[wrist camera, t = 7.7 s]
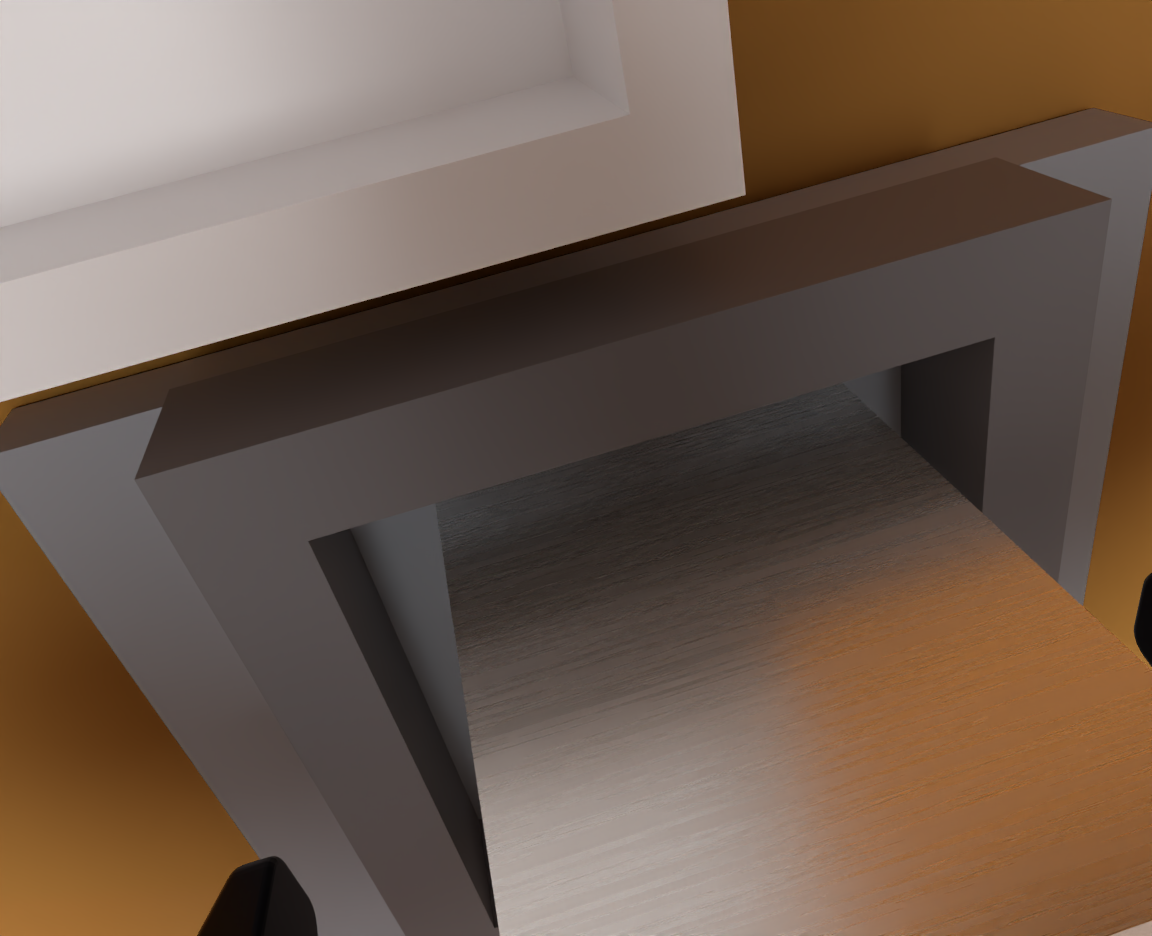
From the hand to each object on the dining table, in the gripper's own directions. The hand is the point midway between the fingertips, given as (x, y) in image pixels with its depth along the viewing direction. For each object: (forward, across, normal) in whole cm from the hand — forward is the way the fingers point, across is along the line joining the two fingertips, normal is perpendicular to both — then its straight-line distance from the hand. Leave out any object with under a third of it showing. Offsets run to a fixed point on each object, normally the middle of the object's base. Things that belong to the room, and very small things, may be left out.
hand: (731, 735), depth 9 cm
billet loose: (+2, 0, 0) cm, 2 cm away
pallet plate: (+3, 0, +5) cm, 6 cm away
